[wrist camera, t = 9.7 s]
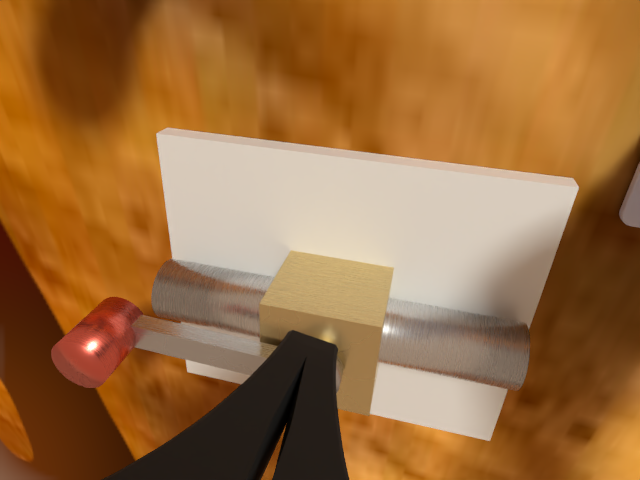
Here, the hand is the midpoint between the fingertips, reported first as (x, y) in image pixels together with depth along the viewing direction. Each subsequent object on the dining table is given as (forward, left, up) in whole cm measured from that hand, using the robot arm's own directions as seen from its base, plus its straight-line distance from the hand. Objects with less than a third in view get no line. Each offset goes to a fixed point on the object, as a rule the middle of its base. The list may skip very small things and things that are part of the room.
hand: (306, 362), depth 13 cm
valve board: (+1, +5, -10) cm, 11 cm away
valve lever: (+5, +5, -5) cm, 9 cm away
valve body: (+1, +5, -9) cm, 11 cm away
